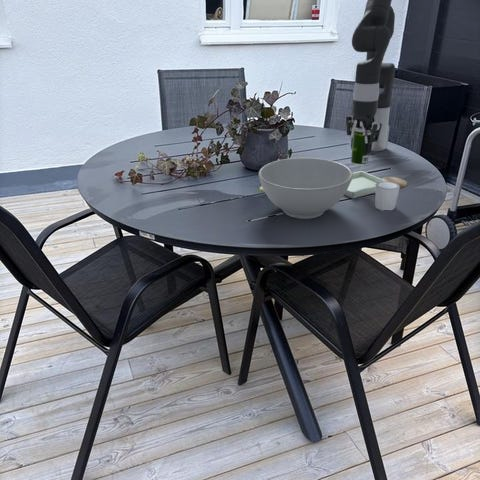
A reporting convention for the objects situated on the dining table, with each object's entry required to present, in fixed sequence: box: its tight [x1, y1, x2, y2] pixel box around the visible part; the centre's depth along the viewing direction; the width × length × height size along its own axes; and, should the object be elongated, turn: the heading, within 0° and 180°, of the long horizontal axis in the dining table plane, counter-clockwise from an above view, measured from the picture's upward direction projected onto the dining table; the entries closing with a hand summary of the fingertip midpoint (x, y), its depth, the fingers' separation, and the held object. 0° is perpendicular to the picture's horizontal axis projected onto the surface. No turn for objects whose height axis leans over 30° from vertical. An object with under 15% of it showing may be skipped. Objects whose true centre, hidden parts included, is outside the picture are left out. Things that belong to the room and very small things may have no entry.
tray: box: [343, 170, 386, 200], centre depth 153 cm, size 16×14×2 cm
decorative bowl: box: [258, 157, 353, 220], centre depth 135 cm, size 27×27×12 cm
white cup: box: [374, 181, 401, 211], centre depth 137 cm, size 7×7×7 cm
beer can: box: [350, 127, 371, 167], centre depth 147 cm, size 5×5×12 cm
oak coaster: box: [381, 176, 408, 189], centre depth 155 cm, size 9×9×1 cm
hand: (360, 151), depth 148 cm, fingers closed on beer can, 5 cm apart
